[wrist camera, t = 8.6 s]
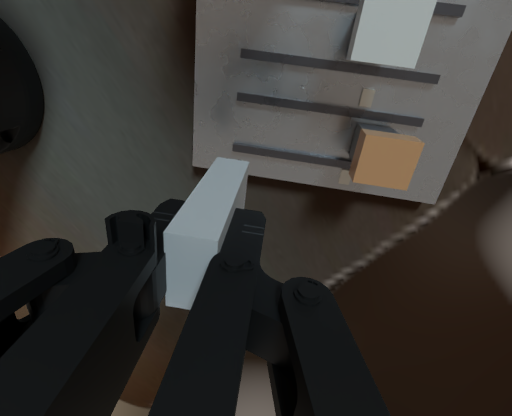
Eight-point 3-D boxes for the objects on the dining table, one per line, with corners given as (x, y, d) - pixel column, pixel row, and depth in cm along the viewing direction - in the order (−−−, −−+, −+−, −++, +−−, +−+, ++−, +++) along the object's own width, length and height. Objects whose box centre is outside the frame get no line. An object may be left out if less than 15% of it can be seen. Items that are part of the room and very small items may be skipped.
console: (198, 159, 32) (190, 167, 30) (205, -57, 24) (195, -68, 22) (427, 195, 31) (437, 207, 29) (517, -21, 23) (542, -29, 20)
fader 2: (342, 158, 28) (352, 182, 23) (352, 118, 26) (366, 134, 21) (385, 164, 28) (406, 190, 22) (399, 125, 26) (425, 143, 21)
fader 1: (339, 59, 24) (350, 60, 19) (350, 6, 23) (366, -9, 17) (389, 65, 24) (414, 68, 19) (404, 12, 23) (437, -1, 17)
